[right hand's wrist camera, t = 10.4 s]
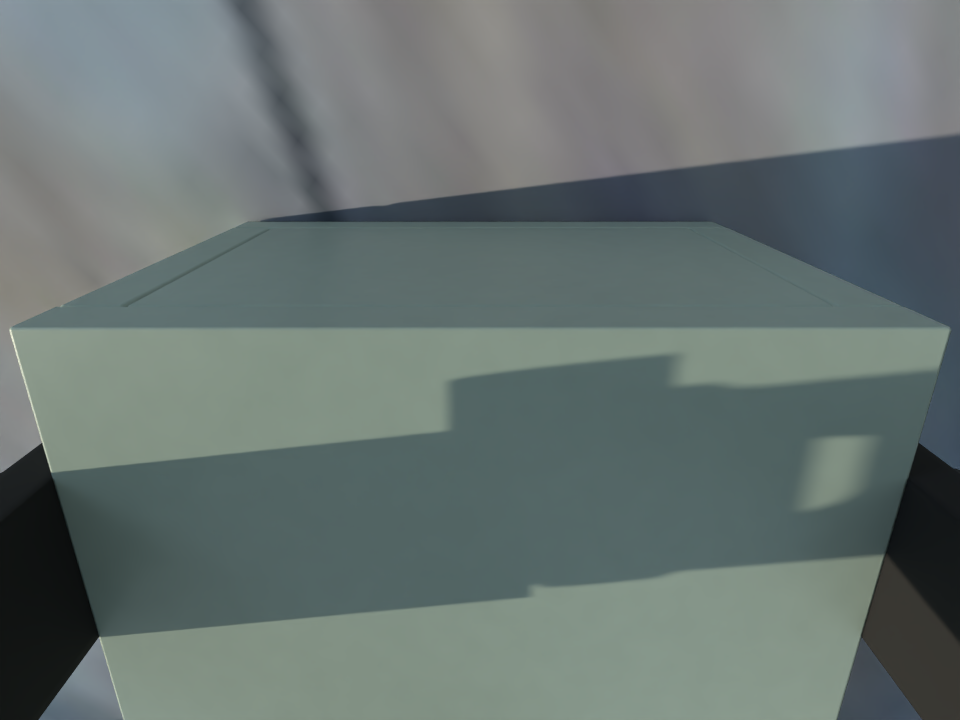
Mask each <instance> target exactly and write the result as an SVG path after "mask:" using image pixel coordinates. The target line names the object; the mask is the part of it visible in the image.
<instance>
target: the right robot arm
mask: <svg viewBox="0 0 960 720" xmlns="http://www.w3.org/2000/svg"><path fill="white" fill-rule="evenodd" d="M98 637H99V634H98V631H97V627H96V624H95V621H94V617H93V614H92V610H91V607H90V604H89V600H88V597H87V593H86V590H85V587H84V583H83V580H82V576H81V573H80V570H79V566H78V563H77V559H76V556H75V553H74V549H73V546H72V542H71V539H70V535H69V532H68V529H67V525H66V522H65V518H64V515H63V512H62V508H61V505H60V501H59V498H58V495H57V491H56V488H55V484H54V481H53V478H52V474H51V471H50V467H49V464H48V461H47V457H46V454H45V450H44V447H43V443H41V444H40V445H39V446H37V447H36V448H35V449H33V450H32V451H31V452H29V453H28V454H27V455H25V456H24V457H23V458H21V459H20V460H19V461H17V462H16V463H15V464H13V465H12V466H11V467H9V468H8V469H6V470H5V471H4V472H2V473H0V720H38V719H39V718H40V717H41V715H42V714H43V713H44V711H45V710H46V708H47V707H48V706H49V704H50V703H51V702H52V700H53V699H54V698H55V696H56V695H57V693H58V692H59V691H60V689H61V688H62V687H63V685H64V684H65V683H66V681H67V680H68V678H69V677H70V676H71V674H72V673H73V672H74V670H75V669H76V667H77V666H78V665H79V663H80V662H81V661H82V659H83V658H84V657H85V655H86V654H87V652H88V651H89V650H90V648H91V647H92V646H93V644H94V643H95V642H96V640H97V639H98ZM862 638H863V639H864V641H865V642H866V643H867V645H868V646H869V647H870V649H871V650H872V652H873V653H874V654H875V656H876V657H877V658H878V660H879V661H880V662H881V664H882V665H883V667H884V668H885V669H886V671H887V672H888V673H889V675H890V676H891V677H892V679H893V680H894V682H895V683H896V684H897V686H898V687H899V688H900V690H901V691H902V692H903V694H904V695H905V697H906V698H907V699H908V701H909V702H910V703H911V705H912V706H913V707H914V709H915V710H916V712H917V713H918V714H919V716H920V717H921V718H922V720H960V470H958V469H953V468H952V467H950V466H949V465H948V464H946V463H945V462H944V461H942V460H941V459H940V458H938V457H937V456H935V455H934V454H933V453H931V452H930V451H929V450H927V449H926V448H925V447H923V446H922V445H921V444H919V443H918V446H917V449H916V453H915V456H914V460H913V463H912V466H911V470H910V473H909V477H908V480H907V483H906V487H905V490H904V494H903V497H902V500H901V504H900V507H899V511H898V514H897V518H896V521H895V524H894V528H893V531H892V535H891V538H890V541H889V545H888V548H887V552H886V555H885V558H884V562H883V565H882V569H881V572H880V575H879V579H878V582H877V586H876V589H875V592H874V596H873V599H872V603H871V606H870V609H869V613H868V616H867V620H866V623H865V627H864V630H863V633H862Z"/></svg>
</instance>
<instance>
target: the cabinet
mask: <svg viewBox="0 0 960 720" xmlns="http://www.w3.org/2000/svg"><path fill="white" fill-rule="evenodd" d="M10 334H11V338H12V341H13V345H14V348H15V351H16V355H17V358H18V362H19V365H20V369H21V372H22V375H23V379H24V382H25V386H26V389H27V392H28V396H29V399H30V403H31V406H32V409H33V413H34V416H35V420H36V423H37V426H38V430H39V433H40V437H41V440H42V443H43V447H44V450H45V454H46V457H47V461H48V464H49V467H50V471H51V474H52V478H53V481H54V484H55V488H56V491H57V495H58V498H59V501H60V505H61V508H62V512H63V515H64V518H65V522H66V525H67V529H68V532H69V535H70V539H71V542H72V546H73V549H74V553H75V556H76V559H77V563H78V566H79V570H80V573H81V576H82V580H83V583H84V587H85V590H86V593H87V597H88V600H89V604H90V607H91V610H92V614H93V617H94V621H95V624H96V627H97V631H98V634H99V638H100V641H101V645H102V648H103V651H104V655H105V658H106V662H107V665H108V668H109V672H110V675H111V679H112V682H113V685H114V689H115V692H116V696H117V699H118V702H119V706H120V709H121V713H122V716H123V719H124V720H837V718H838V715H839V712H840V708H841V705H842V701H843V698H844V695H845V691H846V688H847V684H848V681H849V678H850V674H851V671H852V667H853V664H854V661H855V657H856V654H857V650H858V647H859V644H860V640H861V637H862V633H863V630H864V627H865V623H866V620H867V616H868V613H869V609H870V606H871V603H872V599H873V596H874V592H875V589H876V586H877V582H878V579H879V575H880V572H881V569H882V565H883V562H884V558H885V555H886V552H887V548H888V545H889V541H890V538H891V535H892V531H893V528H894V524H895V521H896V518H897V514H898V511H899V507H900V504H901V500H902V497H903V494H904V490H905V487H906V483H907V480H908V477H909V473H910V470H911V466H912V463H913V460H914V456H915V453H916V449H917V446H918V443H919V439H920V436H921V432H922V429H923V426H924V422H925V419H926V415H927V412H928V409H929V405H930V402H931V398H932V395H933V391H934V388H935V385H936V381H937V378H938V374H939V371H940V368H941V364H942V361H943V357H944V354H945V351H946V347H947V344H948V340H949V337H950V334H951V328H950V327H949V326H946V325H944V324H942V323H940V322H937V321H935V320H933V319H931V318H928V317H926V316H924V315H922V314H920V313H917V312H915V311H913V310H911V309H908V308H906V307H902V306H901V305H898V304H896V303H894V302H892V301H890V300H887V299H885V298H883V297H881V296H878V295H876V294H874V293H872V292H869V291H867V290H865V289H863V288H861V287H858V286H856V285H854V284H852V283H849V282H847V281H845V280H843V279H840V278H838V277H836V276H834V275H832V274H829V273H827V272H825V271H823V270H820V269H818V268H816V267H814V266H811V265H809V264H807V263H805V262H803V261H800V260H798V259H796V258H794V257H791V256H789V255H787V254H785V253H782V252H780V251H778V250H776V249H773V248H771V247H769V246H767V245H765V244H762V243H760V242H758V241H756V240H753V239H751V238H749V237H747V236H744V235H742V234H740V233H738V232H736V231H733V230H731V229H729V228H725V227H723V226H721V225H719V224H717V223H714V222H246V223H244V224H242V225H239V226H237V227H235V228H233V229H230V230H228V231H226V232H224V233H222V234H219V235H217V236H215V237H213V238H210V239H208V240H206V241H204V242H202V243H199V244H197V245H195V246H193V247H190V248H188V249H186V250H184V251H182V252H179V253H177V254H175V255H173V256H171V257H168V258H166V259H164V260H162V261H159V262H157V263H155V264H153V265H151V266H148V267H146V268H144V269H142V270H139V271H137V272H135V273H133V274H131V275H128V276H126V277H124V278H122V279H119V280H117V281H115V282H113V283H111V284H108V285H106V286H104V287H102V288H100V289H97V290H95V291H93V292H91V293H88V294H86V295H84V296H82V297H80V298H77V299H75V300H73V301H71V302H68V303H66V304H64V305H62V306H61V307H55V308H53V309H51V310H48V311H46V312H44V313H42V314H39V315H37V316H35V317H33V318H30V319H28V320H26V321H24V322H22V323H19V324H17V325H15V326H13V327H11V328H10Z"/></svg>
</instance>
